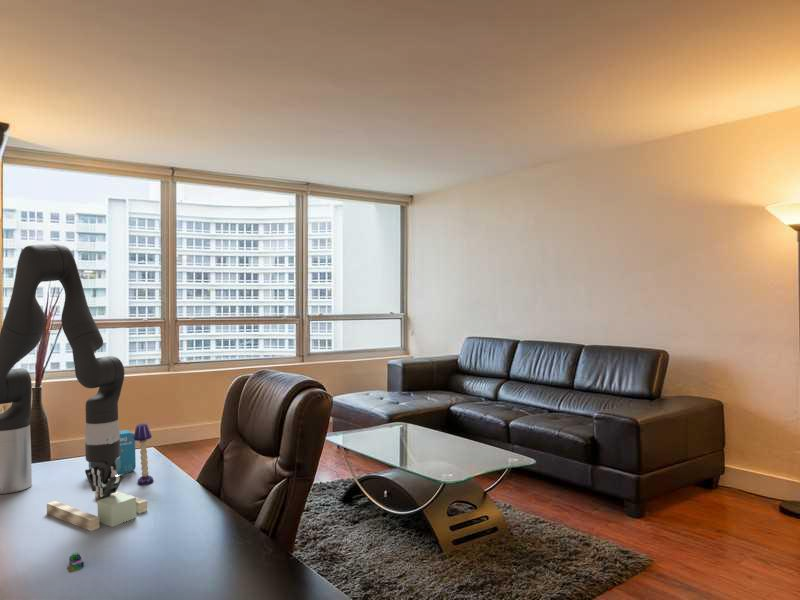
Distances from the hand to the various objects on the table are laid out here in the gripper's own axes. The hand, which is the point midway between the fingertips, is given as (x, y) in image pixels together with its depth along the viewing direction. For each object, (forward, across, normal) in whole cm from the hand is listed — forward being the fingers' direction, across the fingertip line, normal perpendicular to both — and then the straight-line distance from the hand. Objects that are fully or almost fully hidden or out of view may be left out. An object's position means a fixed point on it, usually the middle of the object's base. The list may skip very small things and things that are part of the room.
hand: (104, 509), depth 140 cm
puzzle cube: (+2, +21, -17) cm, 27 cm away
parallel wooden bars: (+1, -3, 0) cm, 4 cm away
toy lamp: (+1, -13, +19) cm, 23 cm away
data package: (+1, -29, +19) cm, 35 cm away
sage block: (+1, +6, 0) cm, 6 cm away
